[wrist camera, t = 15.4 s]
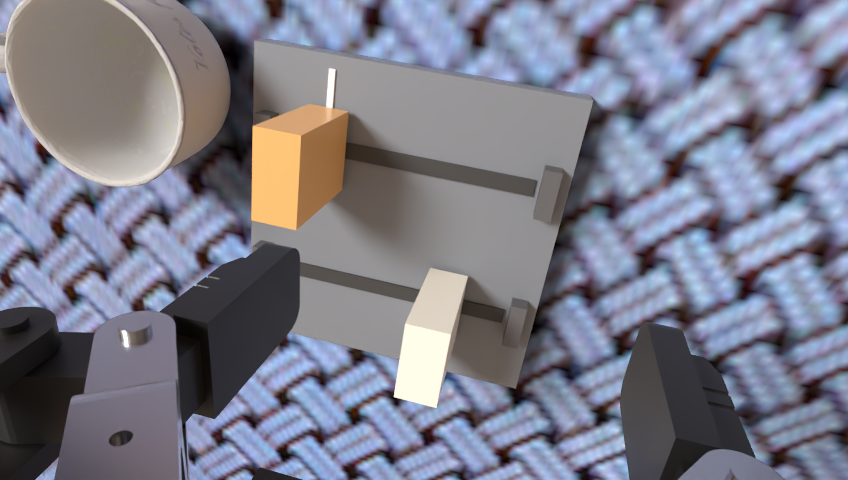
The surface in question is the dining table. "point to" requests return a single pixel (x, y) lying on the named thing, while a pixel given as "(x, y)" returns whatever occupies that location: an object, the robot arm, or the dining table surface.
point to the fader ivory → (430, 337)
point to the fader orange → (297, 164)
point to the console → (426, 199)
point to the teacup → (116, 84)
